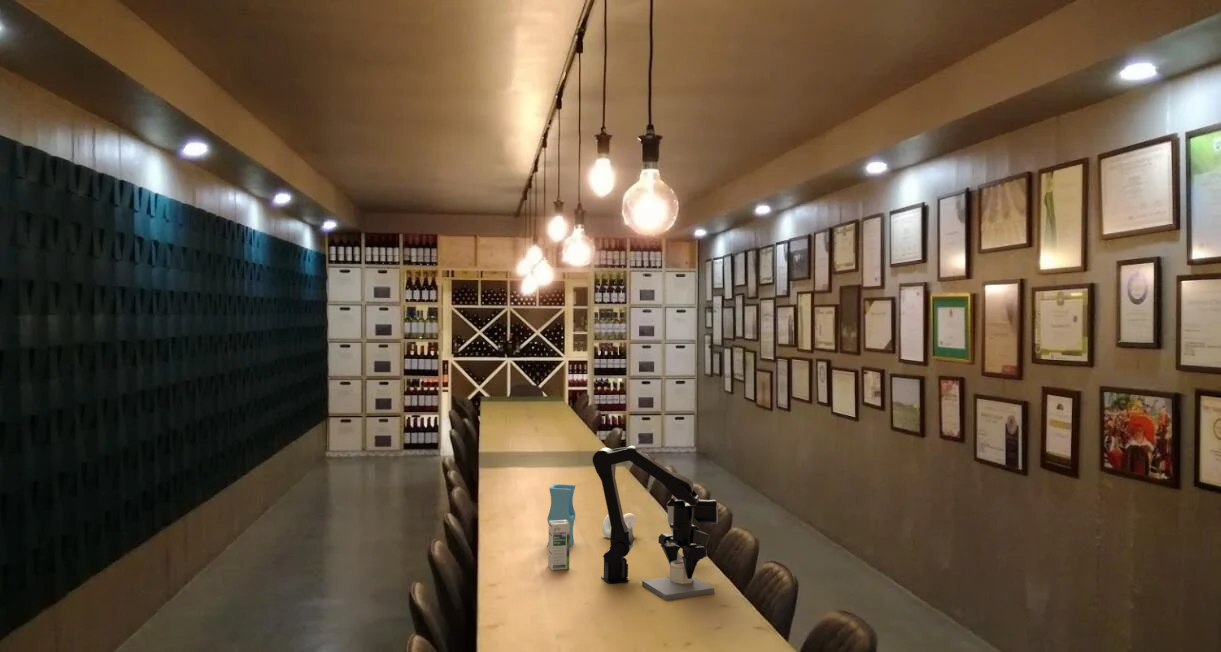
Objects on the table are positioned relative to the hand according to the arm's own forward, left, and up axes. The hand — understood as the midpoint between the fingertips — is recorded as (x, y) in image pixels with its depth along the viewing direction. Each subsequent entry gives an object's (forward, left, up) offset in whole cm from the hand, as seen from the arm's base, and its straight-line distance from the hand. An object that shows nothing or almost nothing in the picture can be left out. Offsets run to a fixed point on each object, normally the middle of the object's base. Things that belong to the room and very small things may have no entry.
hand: (681, 574), depth 246 cm
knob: (0, 0, -2) cm, 2 cm away
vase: (-16, +55, -3) cm, 57 cm away
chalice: (+11, +22, -3) cm, 25 cm away
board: (-3, -3, -3) cm, 5 cm away
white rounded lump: (+6, +56, -4) cm, 56 cm away
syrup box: (-27, +30, -3) cm, 40 cm away
